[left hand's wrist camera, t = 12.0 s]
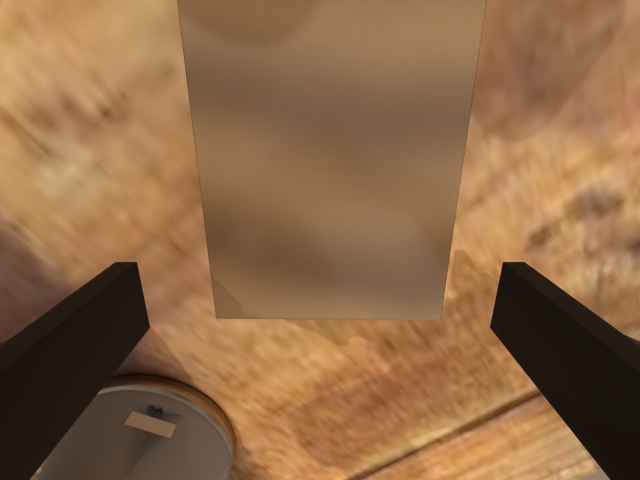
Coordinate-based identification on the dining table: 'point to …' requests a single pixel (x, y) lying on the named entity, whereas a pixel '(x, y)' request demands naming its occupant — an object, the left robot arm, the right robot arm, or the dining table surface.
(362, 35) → the brown rectangular block
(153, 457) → the left robot arm
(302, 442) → the dining table surface
